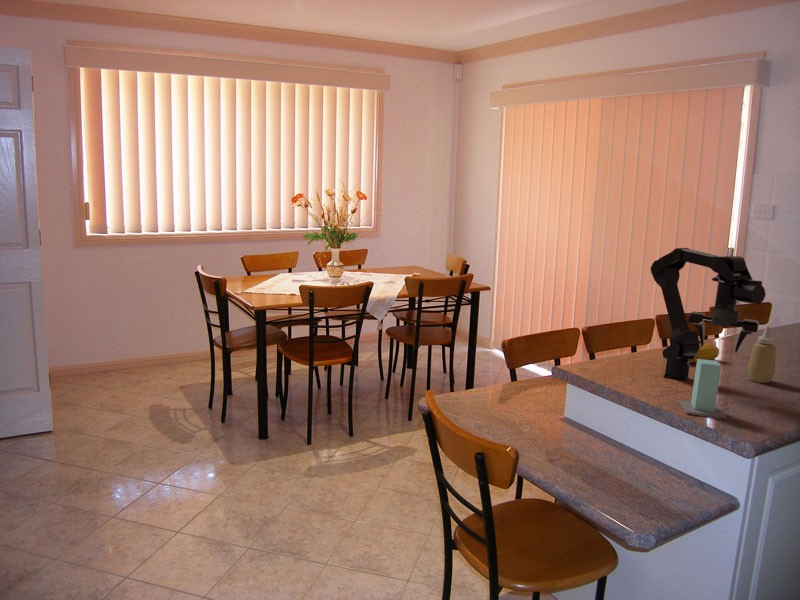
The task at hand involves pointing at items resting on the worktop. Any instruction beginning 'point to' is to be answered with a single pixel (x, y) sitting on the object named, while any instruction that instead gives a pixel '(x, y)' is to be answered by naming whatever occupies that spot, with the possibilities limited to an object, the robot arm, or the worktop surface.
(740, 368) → the worktop surface
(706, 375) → the teal block
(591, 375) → the worktop surface
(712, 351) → the food
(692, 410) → the rubber mat
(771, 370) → the squeeze bottle
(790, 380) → the worktop surface
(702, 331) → the robot arm
